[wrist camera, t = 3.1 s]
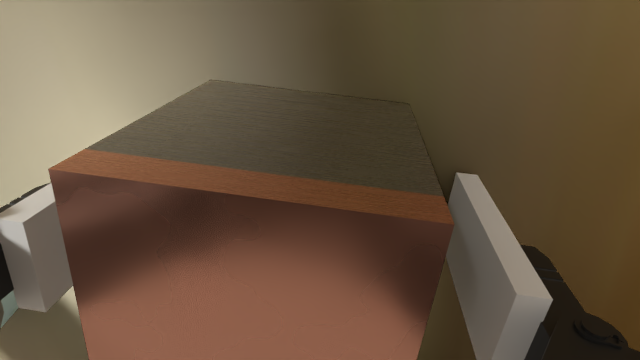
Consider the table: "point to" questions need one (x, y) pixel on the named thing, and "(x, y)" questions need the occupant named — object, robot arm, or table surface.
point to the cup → (8, 306)
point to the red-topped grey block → (255, 229)
